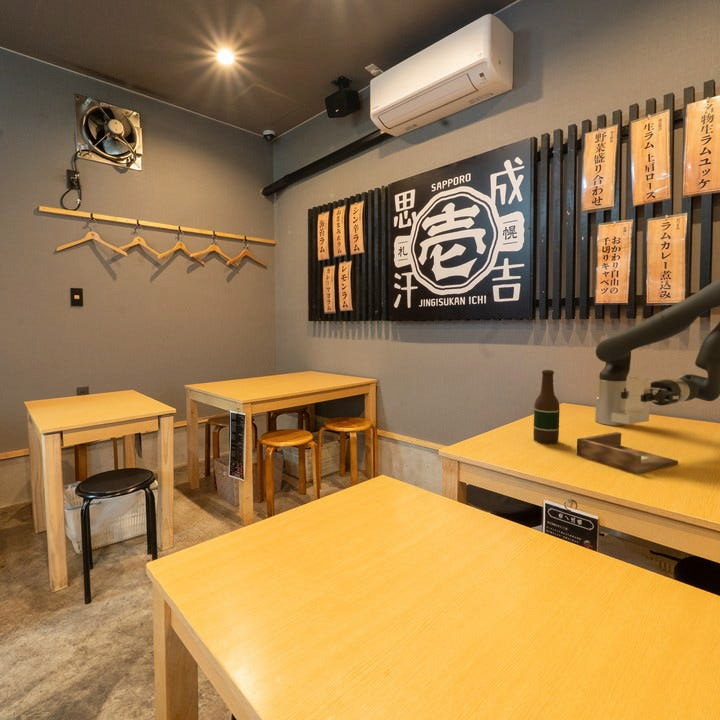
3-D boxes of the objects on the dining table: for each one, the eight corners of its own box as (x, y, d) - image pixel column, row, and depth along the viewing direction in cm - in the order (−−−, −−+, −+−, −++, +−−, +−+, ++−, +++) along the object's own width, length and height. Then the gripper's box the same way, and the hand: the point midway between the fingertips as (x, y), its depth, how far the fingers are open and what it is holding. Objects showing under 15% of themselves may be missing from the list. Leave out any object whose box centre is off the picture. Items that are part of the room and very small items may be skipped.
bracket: (631, 417, 126) (633, 377, 125) (648, 420, 122) (650, 379, 121) (611, 420, 122) (612, 379, 121) (628, 424, 118) (630, 381, 117)
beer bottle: (557, 439, 146) (559, 369, 144) (559, 445, 139) (562, 371, 137) (532, 437, 149) (534, 368, 147) (534, 443, 141) (535, 371, 139)
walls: (576, 451, 129) (577, 438, 128) (616, 444, 136) (616, 432, 136) (636, 470, 112) (637, 455, 112) (677, 460, 120) (678, 446, 119)
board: (576, 455, 129) (576, 451, 128) (616, 447, 136) (616, 444, 136) (636, 474, 112) (636, 470, 112) (677, 464, 120) (677, 460, 120)
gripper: (644, 376, 135) (608, 380, 128) (695, 382, 122) (659, 386, 115) (643, 400, 135) (607, 405, 128) (694, 408, 122) (657, 414, 115)
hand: (632, 396), depth 122 cm, fingers closed on bracket, 5 cm apart
